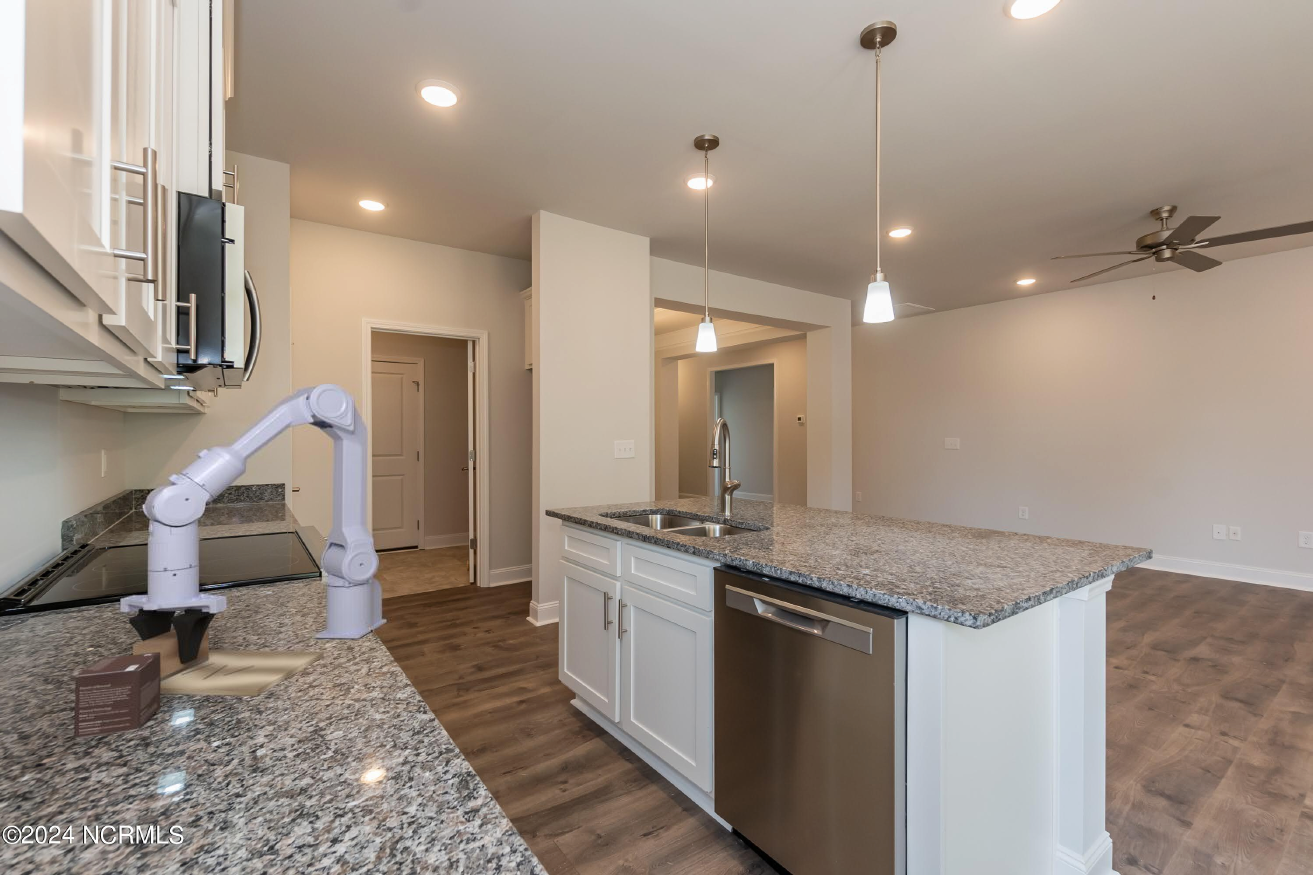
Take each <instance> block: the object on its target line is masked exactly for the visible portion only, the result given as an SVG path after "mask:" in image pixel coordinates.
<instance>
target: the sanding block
mask: <svg viewBox="0 0 1313 875" xmlns="http://www.w3.org/2000/svg"><path fill="white" fill-rule="evenodd" d="M209 629H210V628H209V626H208V628H207V630H206V632H205V634H204V637H203V639H202V642H201V645H200V648H199V652H198V655H197V659H195V660H193V661H191V662H188V663H186V664H181V663H180V659H179V648H178V639H177V634H176V631H175V629H174V630H173V629H172V630H170V632H167V633H164V634H162V635H159V636H156V637H153V638H151V639H148V640H145V641H142V640H141V641H140V642H137V643H134V644H132V655H138V654H147V653H155V652H160V653H161V655H160V663H161V666H160V668H161V672H160V676H161V680H160V681H163V680H165V679H167V678H170V677H172V676H174V675H176V674H178V673H181V672H183V671H185V670H187V669H190V668H192V667H194V666H196V665H198V664H201V663H203V662H205V661H207V660H209V650H210V649H209V648H210V646H209V645H210V644H209V642H210V641H209V637H210V636H209V634H210V632H209V631H210V630H209Z"/></svg>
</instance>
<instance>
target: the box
mask: <svg viewBox="0 0 1313 875" xmlns="http://www.w3.org/2000/svg"><path fill="white" fill-rule="evenodd" d="M160 655H161V653H160V652H155V653H147V654H138V655H133V654H130V655H121V656H110V657H104V658H103V657H102V658H101V659H99V660H98V661H96V662H95V663H93V664H92V665H89V666H88V667H87V668H85V669H84V670H83V671H81V672H80V673H78V674H76V675H75V676H74V679H75V680H74V681H75V687H74V689H75V690H74V729H73V730H74V731H73V732H74V733H73V734H74V737H73V738H74V739H76V740H80V739H86V738H93V737H100V736H104V735H106V736H107V735H110V734H111V735H112V734H120V733H128V732H134V731H138V730H140V729H141V728H142V727H143V726H144V725H145V724H146V723H147V722H148V721H149V719H150V718H151V717H153V716H154V715H155V714H156V712H157V711H159V710H160V709H161V694H160V687H161V681H160V680H161V676H160V672H161V668H160V666H161V663H160Z"/></svg>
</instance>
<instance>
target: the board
mask: <svg viewBox="0 0 1313 875" xmlns="http://www.w3.org/2000/svg"><path fill="white" fill-rule="evenodd" d="M322 658H324V651H289V650H288V651H286V650H279V651H278V650H232V649H231V650H225V649H209V660H207V661H205V662H203V663H201V664H198V665H196V666H194V667H192V668H190V669H187V670H185V671H183V672H181V673H178V674H176V675H174V676H172V677H170V678H167V679H165V680H163V681H161V687H160V695H185V696H186V695H188V696H189V695H192V696H195V695H196V696H233V697H234V696H237V697H238V696H239V697H240V696H242V697H244V696H245V697H258V696H259V695H261V694H263V693H265V692H267V691H268V690H269V689H272V688H273V687H275V686H277V685H278V684H280V683H282V682H284V681H286V680H287V679H288V678H290V677H293V675H296V674H297V673H299V672H300V671H302V670H304V669H305V668H308V667H309V666H310V665H312V664H315V663H316V662H317V661H319V660H321V659H322ZM315 661H316V662H315ZM286 678H287V679H286Z"/></svg>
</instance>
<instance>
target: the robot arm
mask: <svg viewBox="0 0 1313 875" xmlns="http://www.w3.org/2000/svg"><path fill="white" fill-rule="evenodd" d="M305 424H309V425H311V426H313V427H315V428H318V429H320V430H321V431H322V432H324V434H326V435H327V436H328V437H329V438H330V439H332V440H333V477H332V478H333V487H332V489H333V490H332V493H333V495H332V496H333V497H332V528H331V530H330V532H329V533H328V535H327V536H326V546H325V549H324V551H323V553H322V554H321V557H320V565H321V566H320V567H321V568H322V570H323V571H324V572H325V574H327V579H326V629H324V630H322V631H320V632H318V633H316V634H315V635H314V638H316V639H356V640H357V639H361V638H362V637H364V636H365V635H367V634H369V633H371V632H372V631H374V630H375V629H377V628H379V627H380V626H383V625H385V623H387V619H385V618H383V590H382V586H381V583H380V582H379V580H378V579H377V578H375V577H374V576H375V574H376V573H377V571H378V569H379V564H380V563H379V562H380V560H379V559H380V558H379V556H378V554H377V552H376V550H375V547H374V545H375V544H374V543H375V542H374V541H375V540H374V537H373V535H372V534H371V532H370V531H369V529H368V527H367V501H368V500H367V499H368V498H367V497H368V495H367V494H368V492H367V488H368V428H367V426H366V424H365V422H364V420H363V418H362V417H361V414H360V412H359V411H358V409H357V407H356V405H355V397H354V396H353V395H351V394H350V393H349V392H348V391H346V390H345V389H343V388H342V387H341V386H339V385H337V384H335V383H323V384H320V385H316V386H303V387H300V388H299V389H297V390H295V391H294V393H293V394H292V395H289V396H286V397H284V398H283V399H282V400H280V401H279V402H277V404H275V405H274V406H273V407H272V408H270V410H268V411H267V412H266V413H265V414H264V415H262V416H261V417H260V418H259V419H258V420H257V421H256V422H255V423H253V424H252V425H251V426H249V428H247V429H245V431H244V432H243V433H242V434H241V435H239V436H238V437H237V438H236V439H235V440H233V441H232V443H230V444H228V445H227V446H222V445H221V446H220V445H218V446H217V445H216V446H215V445H214V446H213V447H211V448H209V449H208V450H207V449H205V448H203V449H201V450H200V451H198V452H197V453H196V454H195V455H196V457H197V459H196V460H195V461H193V462H192V463H191V464H189V465H188V466H186V467H185V468H184V469H183V470H181V471H180V472H179V473H177V474H175V473H172V474H171V475H169V476H168V477H167V478H166V479H167V481H169V482H170V483H171V484H164V485H161V486H159V487H157V488H155V489H154V490H152V491H150V493H149V494H148V495H147V497H146V500H144V501H145V503H144V504H142V511H143V513H144V515H145V516H146V517H147V518H148V519H149V522H148V523H149V525H148V532H149V533H148V534H149V535H148V538H147V594H142V595H141V594H139V595H137V594H136V595H135V594H133V595H130V596H126V597H122V598H120V613H130V612H131V611H133V612H137V614H136V615H134V616H132V617H129V618H128V623H129V624H130V626H132V628H133V629H134V630H135V631H136V632H137V634H138V636H139V637H140V639H141V642H142V641H145V640H148V639H151V638H153V637H156V636H159V635H162V634H164V633H167V632H170V631H172V627H173V628H174V630H175V631H176V634H177V639H178V648H179V659H180V663H181V664H186V663H188V662H191V661H193V660H195V659H197V655H198V652H199V648H200V645H201V642H202V639H203V637H204V634H205V632H206V630H207V628H208V627H209V626H210V625H211V623H212V620H214V617H215V616H216V614H218V613H220V612H223V611H226V610H227V608H228V606H227V596H223V595H214V594H207V593H202V592H200V561H199V560H200V534H199V518H201V517H202V516H203V514H204V512H205V510H206V504H207V503H211V502H212V501H213V500H214V499H216V498H217V497H218V496H219V495H220V494H221V493H223V492H224V491H225V490H226V489H227V488H229V487H230V486H231V485H232V484H233V483H235V482H236V481H237V480H238V479H239V478H240V477H242V476H243V475H244V474H245V473H246V471H247V461H248V460H249V459H250V458H251V457H253V456H254V455H255V454H257V453H258V452H259V451H260V450H262V449H263V448H264V447H266V446H267V445H268V444H270V443H271V442H272V441H273V440H275V439H277V437H279V436H280V435H282V433H284V432H285V431H287V430H288V429H289V428H291V427H297V426H301V425H305ZM176 612H184V613H181V614H179V615H176ZM365 621H366V622H365ZM366 623H367V624H368V625H369V626H370V628H371V629H372V631H371V630H370V629H369V627H368V625H367V624H366Z"/></svg>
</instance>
